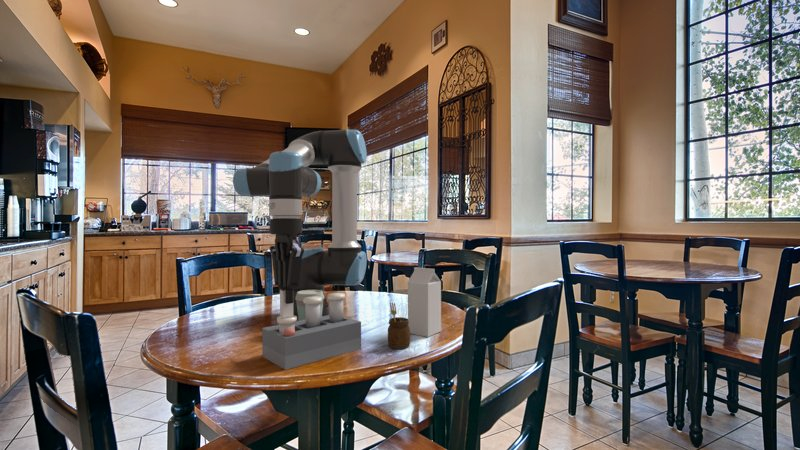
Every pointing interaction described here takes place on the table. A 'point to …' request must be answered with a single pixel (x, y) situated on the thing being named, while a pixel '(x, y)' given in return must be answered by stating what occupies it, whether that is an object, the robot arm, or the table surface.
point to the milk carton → (424, 302)
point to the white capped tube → (286, 323)
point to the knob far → (336, 306)
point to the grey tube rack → (310, 342)
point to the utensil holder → (398, 330)
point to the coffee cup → (301, 305)
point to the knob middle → (312, 311)
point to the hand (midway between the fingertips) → (286, 316)
